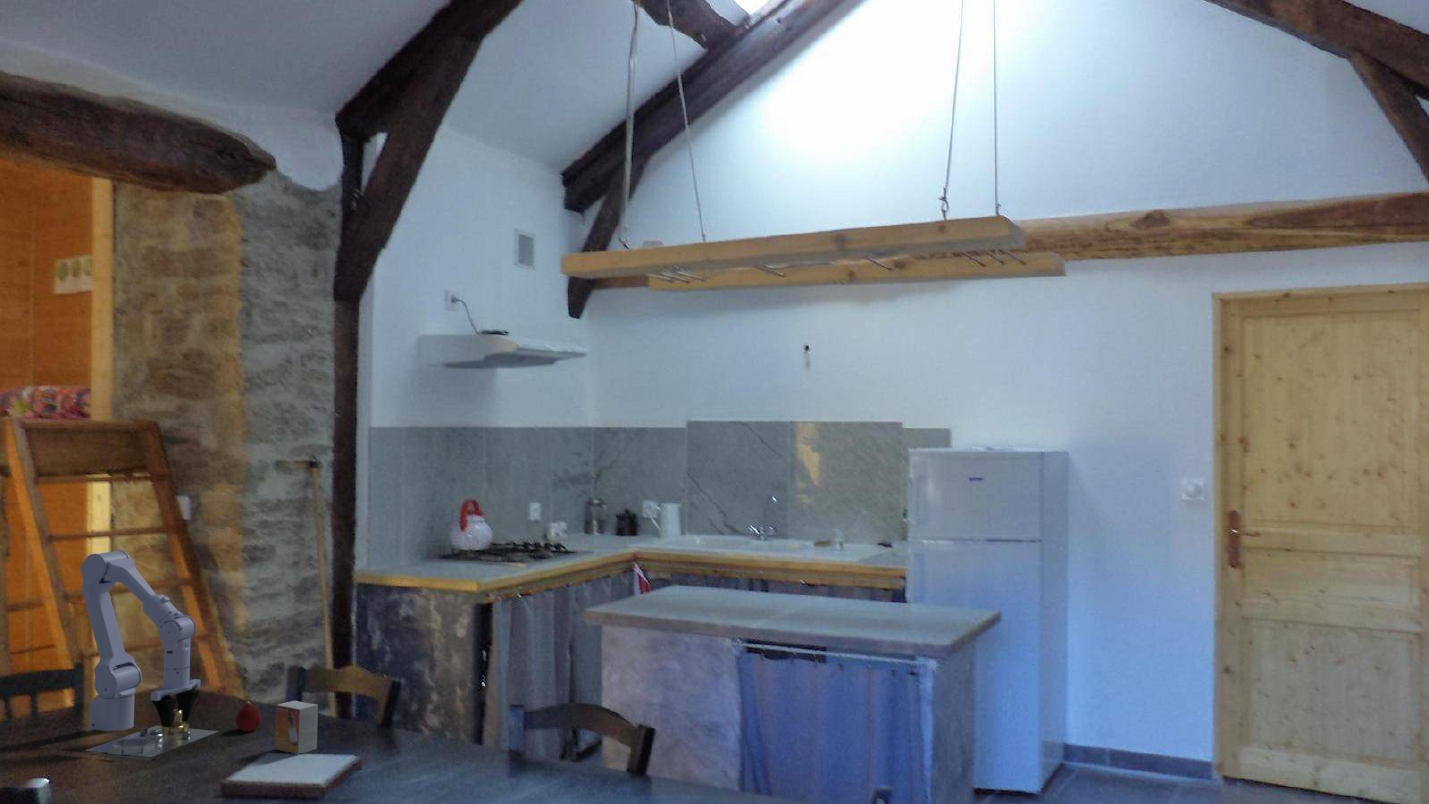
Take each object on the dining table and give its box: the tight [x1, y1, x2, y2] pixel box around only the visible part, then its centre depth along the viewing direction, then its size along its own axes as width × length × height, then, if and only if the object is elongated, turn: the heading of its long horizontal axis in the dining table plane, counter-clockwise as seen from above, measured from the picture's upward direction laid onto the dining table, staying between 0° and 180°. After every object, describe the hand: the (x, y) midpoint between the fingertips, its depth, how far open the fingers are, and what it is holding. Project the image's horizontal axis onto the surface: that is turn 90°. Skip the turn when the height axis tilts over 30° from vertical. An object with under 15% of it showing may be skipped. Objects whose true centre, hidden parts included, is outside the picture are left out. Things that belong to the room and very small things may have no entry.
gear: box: [161, 708, 190, 735], centre depth 264 cm, size 6×6×5 cm
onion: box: [235, 700, 262, 733], centre depth 266 cm, size 6×6×8 cm
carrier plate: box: [84, 725, 219, 762], centre depth 256 cm, size 18×23×3 cm
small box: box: [274, 700, 319, 754], centre depth 254 cm, size 8×6×10 cm
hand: (175, 723), depth 264 cm, fingers open, 5 cm apart
